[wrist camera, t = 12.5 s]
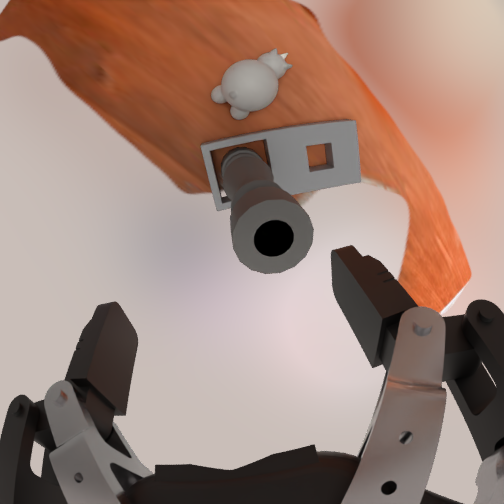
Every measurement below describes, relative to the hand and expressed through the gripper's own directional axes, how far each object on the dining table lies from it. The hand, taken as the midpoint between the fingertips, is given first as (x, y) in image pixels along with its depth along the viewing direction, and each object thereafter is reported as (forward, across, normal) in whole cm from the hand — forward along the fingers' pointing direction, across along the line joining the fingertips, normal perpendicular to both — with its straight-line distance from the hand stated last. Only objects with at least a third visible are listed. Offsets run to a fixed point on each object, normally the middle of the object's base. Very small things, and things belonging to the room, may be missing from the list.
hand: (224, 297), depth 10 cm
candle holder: (+34, -3, +4) cm, 34 cm away
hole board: (+34, -10, +4) cm, 35 cm away
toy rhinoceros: (+34, -8, -9) cm, 36 cm away
